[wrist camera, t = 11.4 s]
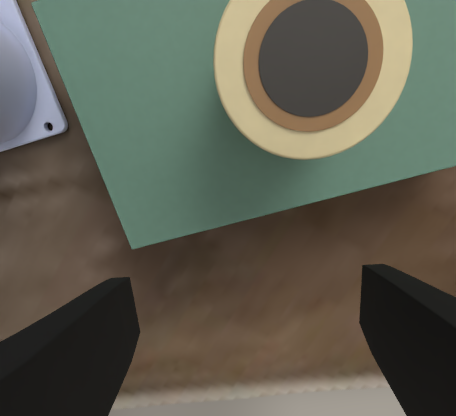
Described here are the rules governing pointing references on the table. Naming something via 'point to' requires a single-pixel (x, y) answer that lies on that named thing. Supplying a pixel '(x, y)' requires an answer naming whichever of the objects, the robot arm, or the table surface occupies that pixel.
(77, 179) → the table surface
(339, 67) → the tape roll
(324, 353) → the table surface
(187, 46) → the desk shelf
